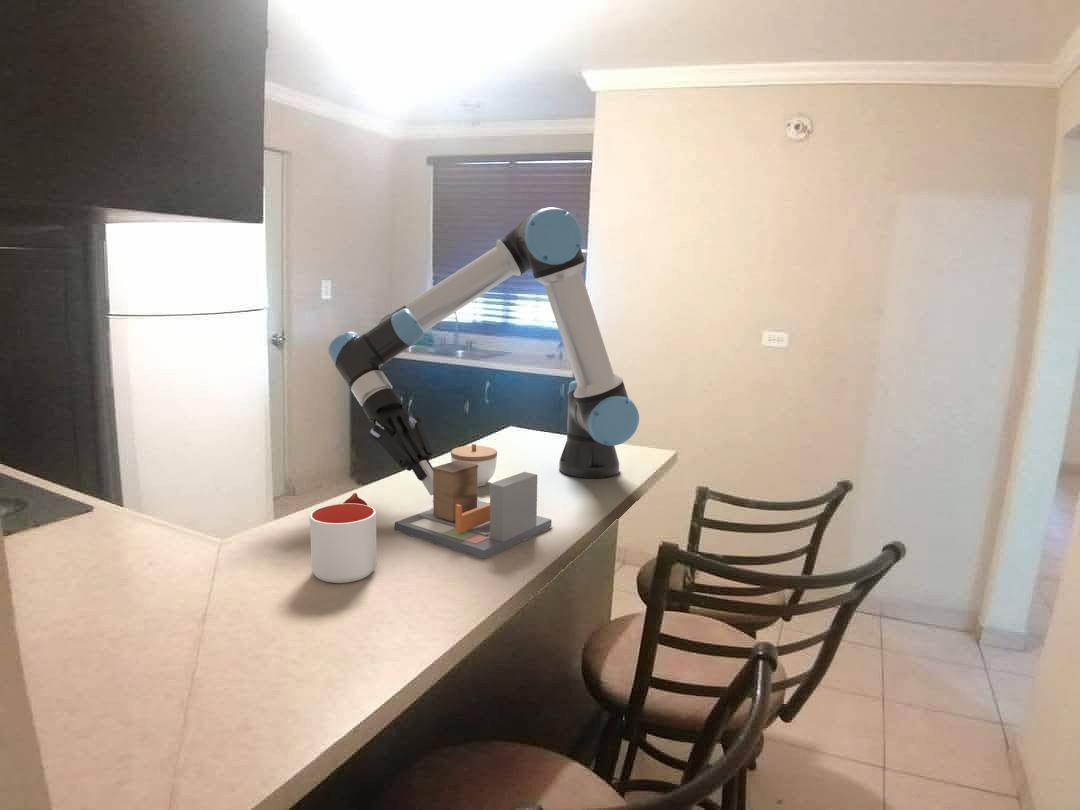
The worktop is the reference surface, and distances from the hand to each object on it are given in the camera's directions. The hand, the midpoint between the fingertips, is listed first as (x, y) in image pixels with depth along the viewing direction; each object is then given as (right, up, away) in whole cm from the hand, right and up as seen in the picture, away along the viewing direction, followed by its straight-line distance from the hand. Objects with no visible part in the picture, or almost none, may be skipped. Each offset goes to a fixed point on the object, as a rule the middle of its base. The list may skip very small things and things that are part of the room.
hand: (436, 490), depth 136 cm
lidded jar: (+5, -2, +25) cm, 26 cm away
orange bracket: (+9, -5, -9) cm, 13 cm away
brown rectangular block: (+4, -4, -2) cm, 6 cm away
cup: (-11, -10, -25) cm, 29 cm away
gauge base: (+8, -7, -5) cm, 11 cm away
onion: (-14, -7, -9) cm, 18 cm away
